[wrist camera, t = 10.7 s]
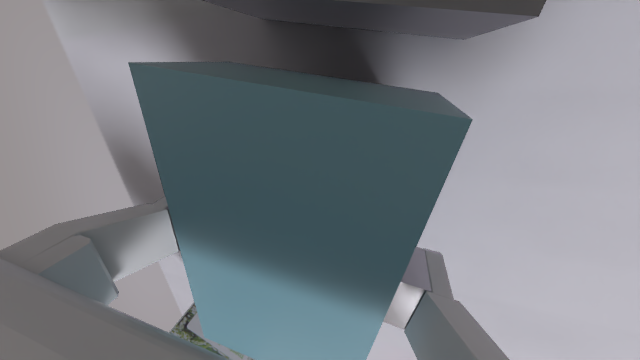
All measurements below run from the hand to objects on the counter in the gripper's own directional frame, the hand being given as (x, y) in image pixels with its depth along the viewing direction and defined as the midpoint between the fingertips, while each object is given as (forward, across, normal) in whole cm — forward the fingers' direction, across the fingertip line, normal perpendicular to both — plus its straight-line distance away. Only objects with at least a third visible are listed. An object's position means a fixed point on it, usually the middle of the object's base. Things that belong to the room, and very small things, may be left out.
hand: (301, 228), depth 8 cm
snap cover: (+1, 0, 0) cm, 1 cm away
